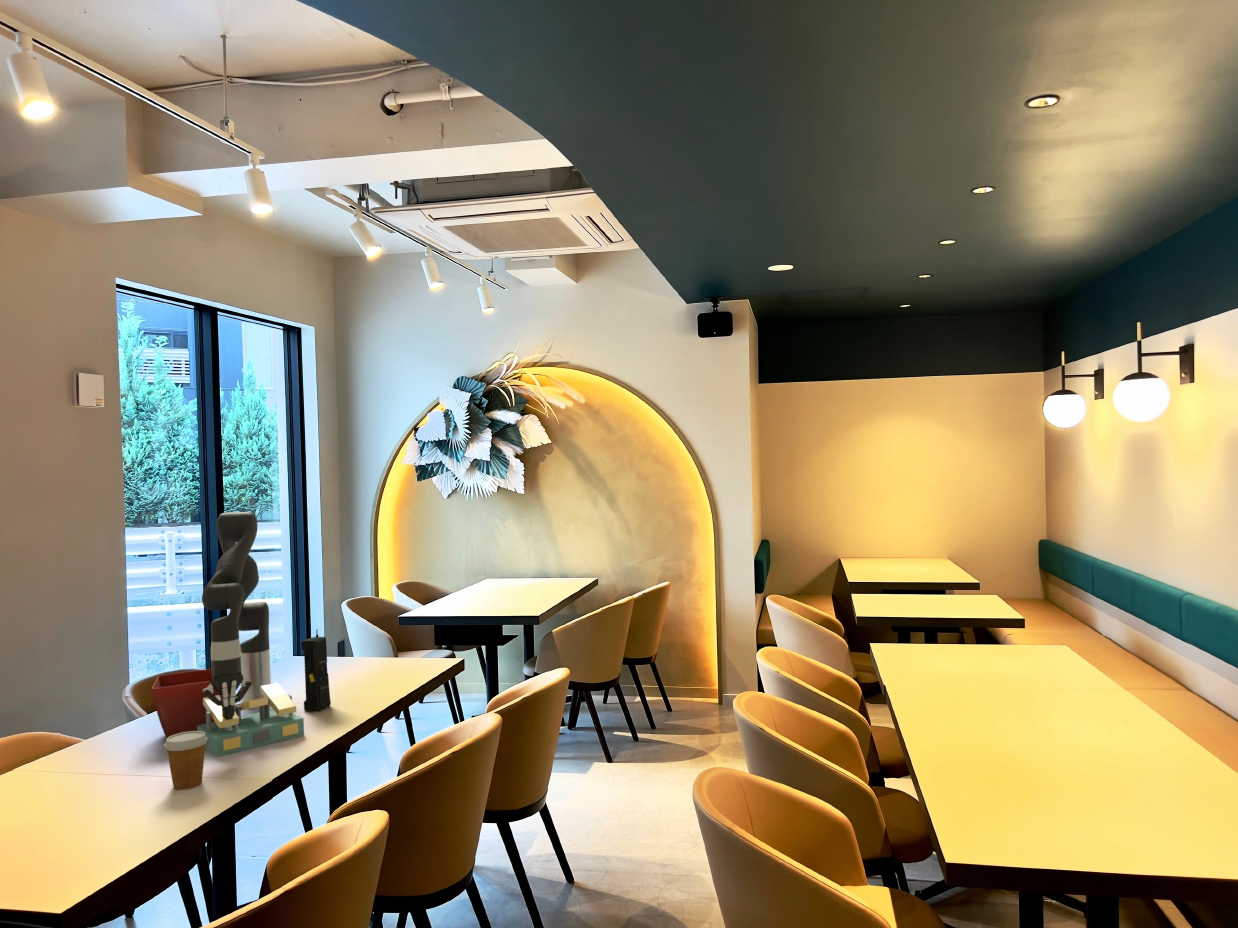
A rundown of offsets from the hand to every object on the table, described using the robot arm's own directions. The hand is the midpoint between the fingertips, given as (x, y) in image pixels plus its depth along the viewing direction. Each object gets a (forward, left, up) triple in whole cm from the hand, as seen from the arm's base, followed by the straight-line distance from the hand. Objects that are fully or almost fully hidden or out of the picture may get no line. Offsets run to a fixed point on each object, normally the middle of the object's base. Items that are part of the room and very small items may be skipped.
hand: (228, 718), depth 236 cm
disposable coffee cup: (+19, -16, -9) cm, 27 cm away
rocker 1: (-7, 0, +1) cm, 7 cm away
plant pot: (-27, -2, -9) cm, 28 cm away
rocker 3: (-7, +16, +1) cm, 17 cm away
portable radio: (-23, +34, -9) cm, 42 cm away
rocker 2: (-6, +8, 0) cm, 10 cm away
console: (-7, +8, -9) cm, 14 cm away
